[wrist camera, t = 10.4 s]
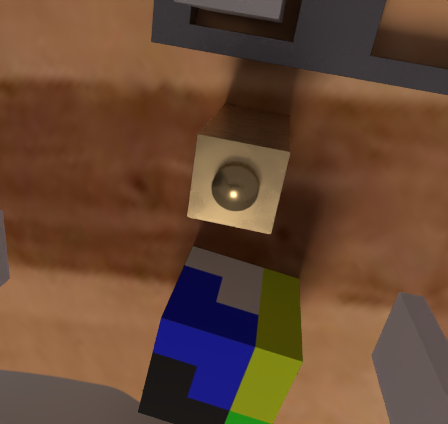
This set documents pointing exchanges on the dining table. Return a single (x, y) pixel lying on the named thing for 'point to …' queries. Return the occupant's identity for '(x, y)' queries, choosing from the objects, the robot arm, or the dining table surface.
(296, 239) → the dining table surface
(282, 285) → the puzzle toy
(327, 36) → the grey flat plate
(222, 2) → the silver block with knob
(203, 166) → the tan block with knob
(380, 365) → the robot arm
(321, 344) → the dining table surface
